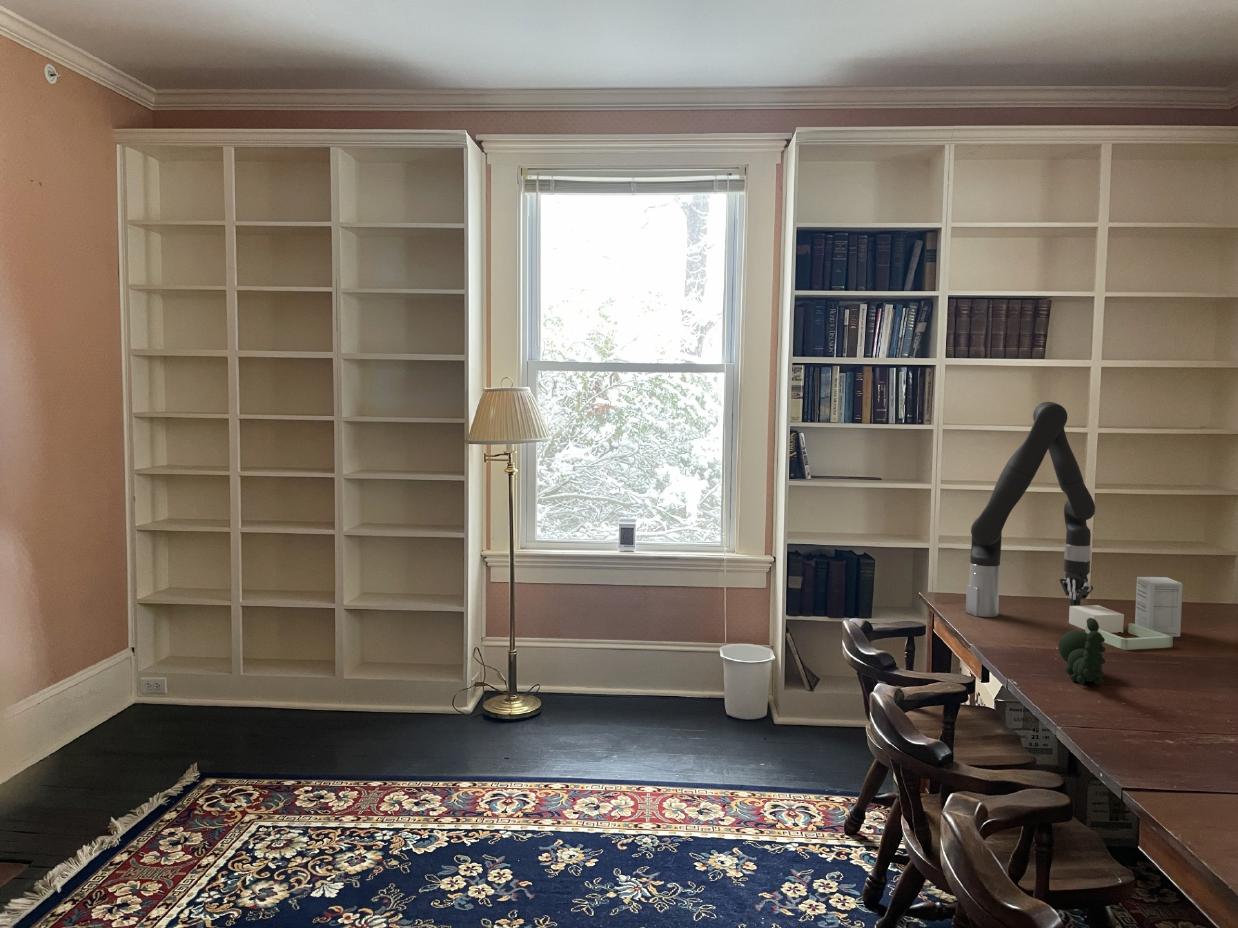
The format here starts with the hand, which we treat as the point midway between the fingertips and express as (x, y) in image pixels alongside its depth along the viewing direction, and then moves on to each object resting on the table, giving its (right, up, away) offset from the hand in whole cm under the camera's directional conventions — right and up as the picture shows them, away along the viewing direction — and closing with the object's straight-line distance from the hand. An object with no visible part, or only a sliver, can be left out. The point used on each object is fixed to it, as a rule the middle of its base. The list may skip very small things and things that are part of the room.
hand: (1074, 610), depth 279 cm
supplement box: (+19, -5, -13) cm, 23 cm away
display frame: (+4, -5, -22) cm, 23 cm away
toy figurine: (-28, -8, -56) cm, 63 cm away
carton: (+3, -5, -7) cm, 9 cm away
